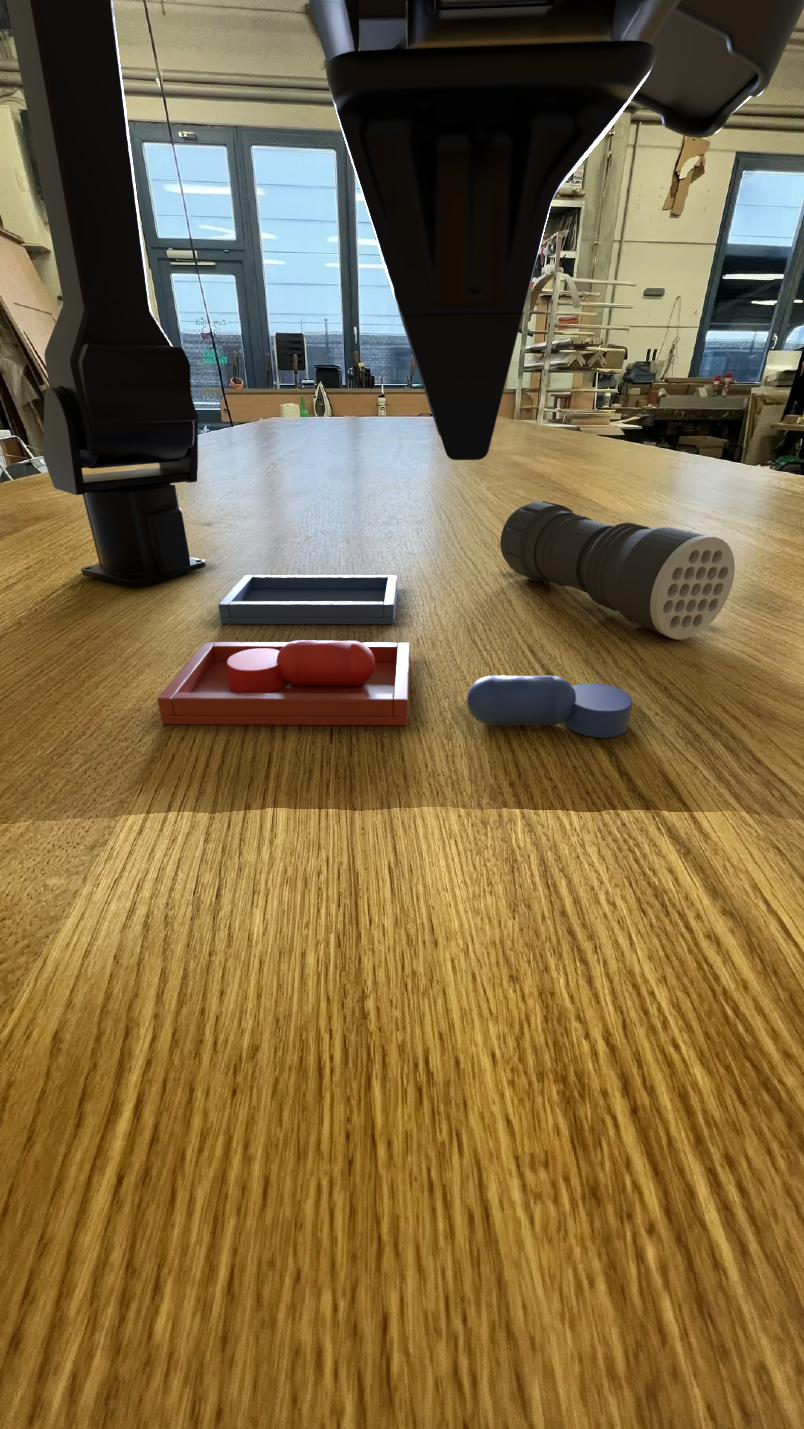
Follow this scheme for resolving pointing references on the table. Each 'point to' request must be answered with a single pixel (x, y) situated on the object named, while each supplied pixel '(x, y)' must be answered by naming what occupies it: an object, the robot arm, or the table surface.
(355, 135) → the robot arm
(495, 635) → the table surface
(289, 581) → the blue tray
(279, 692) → the red tray
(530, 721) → the blue capsule with disc
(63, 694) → the table surface
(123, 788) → the table surface
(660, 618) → the flashlight
